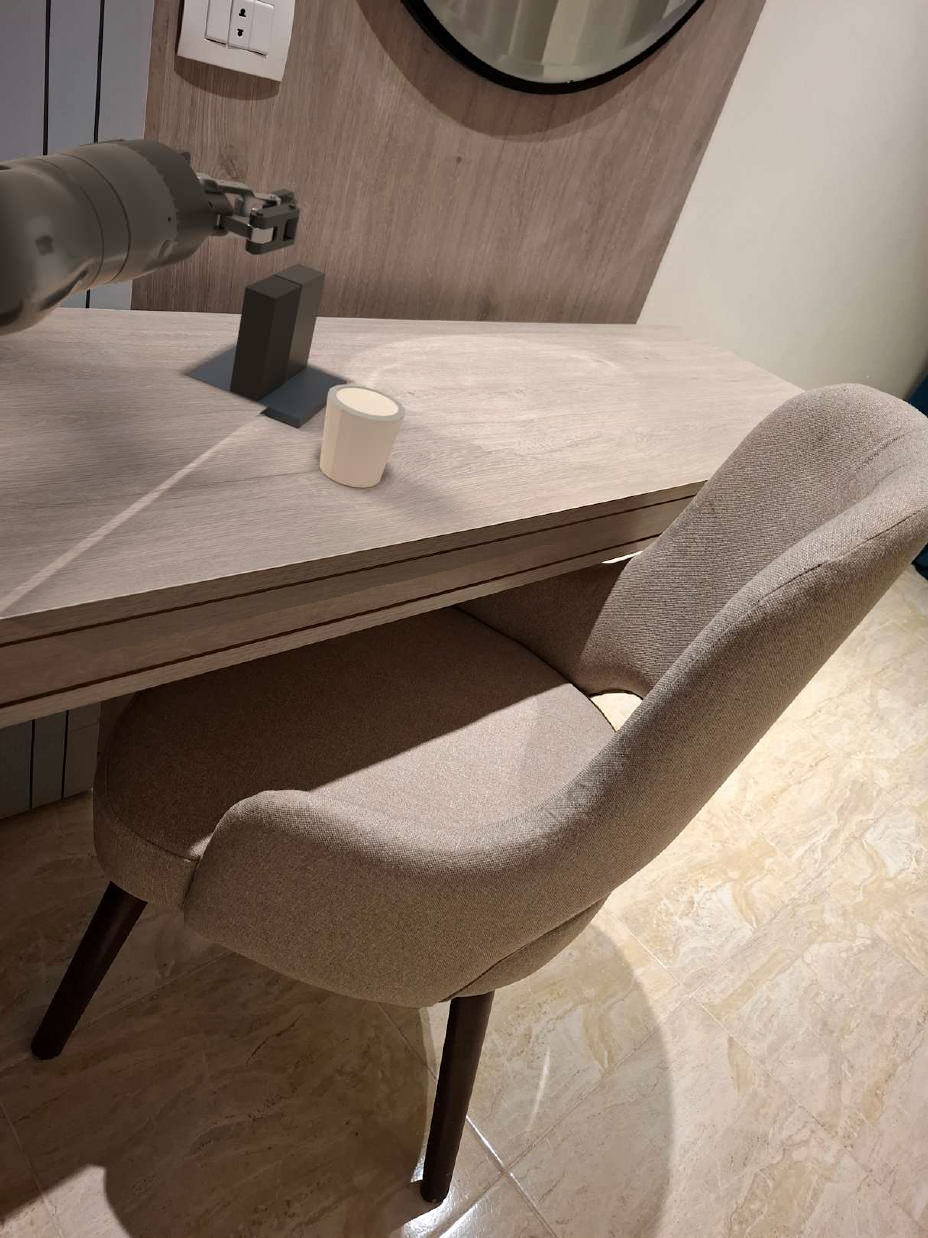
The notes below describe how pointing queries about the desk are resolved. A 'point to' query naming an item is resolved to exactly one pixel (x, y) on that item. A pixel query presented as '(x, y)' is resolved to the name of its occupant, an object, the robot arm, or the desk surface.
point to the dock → (281, 398)
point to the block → (265, 337)
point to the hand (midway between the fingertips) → (236, 184)
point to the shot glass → (358, 434)
